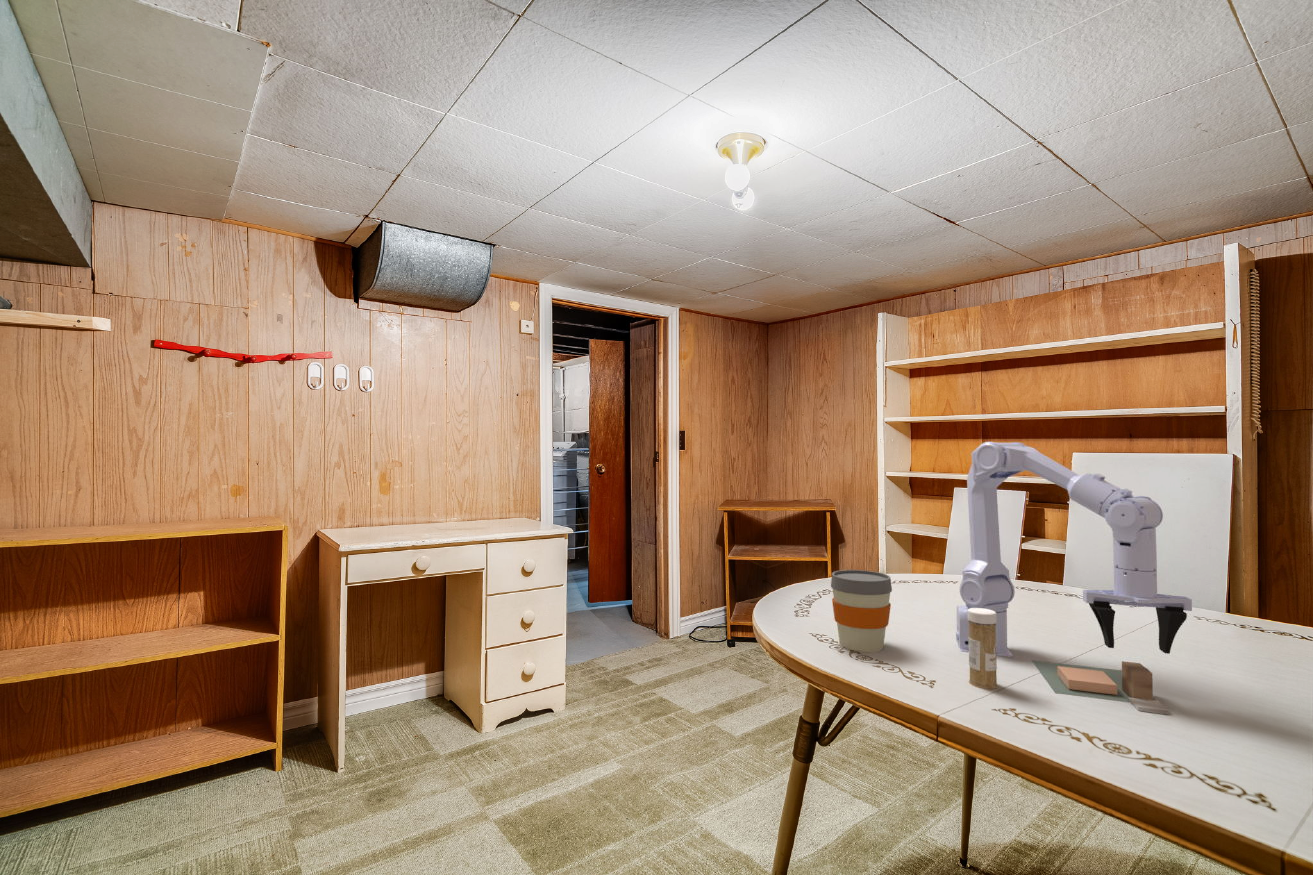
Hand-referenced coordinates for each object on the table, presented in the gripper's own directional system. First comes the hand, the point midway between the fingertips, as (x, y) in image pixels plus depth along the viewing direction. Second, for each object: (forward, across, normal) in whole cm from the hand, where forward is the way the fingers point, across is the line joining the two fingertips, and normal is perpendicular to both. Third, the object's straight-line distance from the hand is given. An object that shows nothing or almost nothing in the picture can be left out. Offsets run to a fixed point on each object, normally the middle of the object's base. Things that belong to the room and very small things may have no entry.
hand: (1136, 648), depth 100 cm
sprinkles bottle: (+9, -24, -3) cm, 25 cm away
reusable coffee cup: (+8, -45, +13) cm, 47 cm away
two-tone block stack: (+8, 0, -2) cm, 8 cm away
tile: (+7, -6, +6) cm, 11 cm away
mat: (+8, -5, +6) cm, 11 cm away
